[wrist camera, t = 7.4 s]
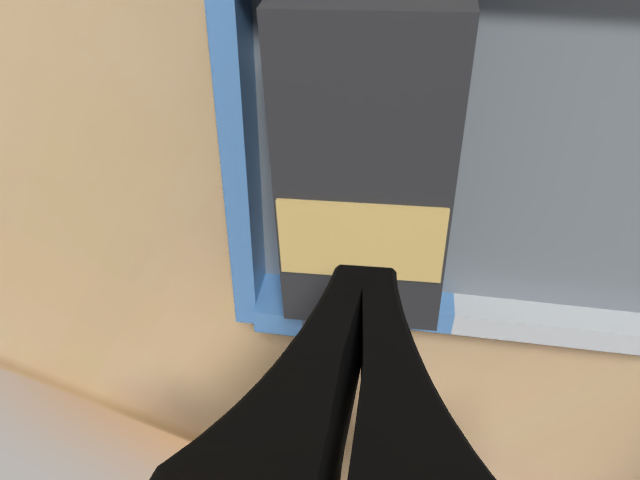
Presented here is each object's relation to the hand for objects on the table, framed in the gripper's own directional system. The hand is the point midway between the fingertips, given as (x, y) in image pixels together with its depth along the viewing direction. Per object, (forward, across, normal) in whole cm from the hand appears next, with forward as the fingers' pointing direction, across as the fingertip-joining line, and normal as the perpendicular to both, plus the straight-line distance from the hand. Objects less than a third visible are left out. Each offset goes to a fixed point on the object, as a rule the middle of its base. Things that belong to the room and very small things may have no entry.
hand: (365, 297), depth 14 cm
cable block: (+7, 0, -1) cm, 7 cm away
